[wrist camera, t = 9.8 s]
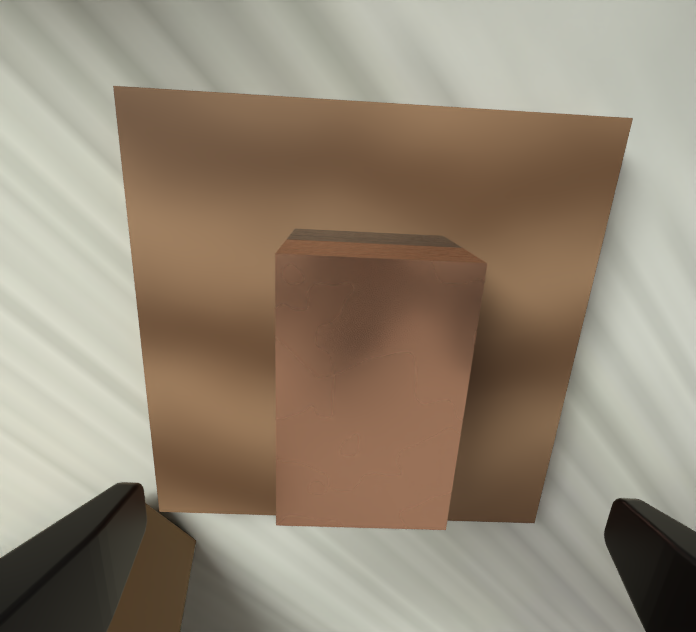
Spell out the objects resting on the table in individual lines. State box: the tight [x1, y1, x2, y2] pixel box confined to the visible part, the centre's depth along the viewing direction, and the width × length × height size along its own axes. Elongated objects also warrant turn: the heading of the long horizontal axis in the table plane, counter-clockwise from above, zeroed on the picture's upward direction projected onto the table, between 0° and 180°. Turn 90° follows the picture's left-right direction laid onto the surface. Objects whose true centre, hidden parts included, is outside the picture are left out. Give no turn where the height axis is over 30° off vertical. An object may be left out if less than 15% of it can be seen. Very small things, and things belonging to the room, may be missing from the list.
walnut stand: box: [113, 86, 633, 523], centre depth 17 cm, size 16×16×2 cm
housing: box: [275, 229, 487, 530], centre depth 14 cm, size 5×10×5 cm, turn 177°
